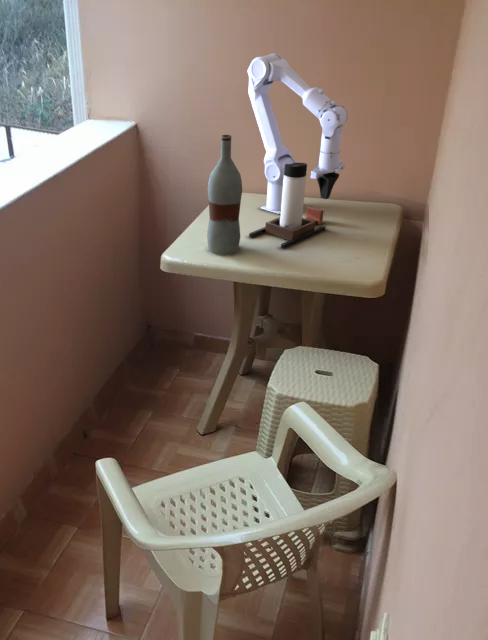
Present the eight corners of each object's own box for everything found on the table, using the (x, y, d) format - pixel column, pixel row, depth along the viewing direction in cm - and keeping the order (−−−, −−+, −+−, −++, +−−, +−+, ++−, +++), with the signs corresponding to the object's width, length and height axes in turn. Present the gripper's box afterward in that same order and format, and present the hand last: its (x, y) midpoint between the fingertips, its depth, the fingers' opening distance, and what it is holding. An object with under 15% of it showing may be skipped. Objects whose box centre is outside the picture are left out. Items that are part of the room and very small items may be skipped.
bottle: (231, 258, 177) (235, 142, 159) (201, 252, 180) (201, 138, 163) (245, 246, 183) (250, 133, 166) (215, 241, 187) (217, 130, 170)
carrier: (302, 217, 202) (303, 204, 200) (329, 225, 197) (331, 211, 194) (265, 232, 192) (265, 219, 189) (292, 241, 186) (293, 227, 184)
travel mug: (287, 238, 189) (294, 167, 177) (274, 230, 193) (280, 161, 182) (305, 234, 191) (312, 164, 179) (292, 227, 196) (298, 158, 184)
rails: (291, 219, 201) (291, 215, 200) (325, 230, 194) (325, 226, 193) (249, 237, 189) (249, 233, 189) (283, 248, 182) (284, 244, 181)
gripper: (327, 158, 184) (321, 206, 191) (355, 149, 192) (349, 195, 200) (306, 154, 188) (302, 201, 195) (335, 144, 196) (330, 190, 204)
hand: (324, 198), depth 198 cm, fingers closed
